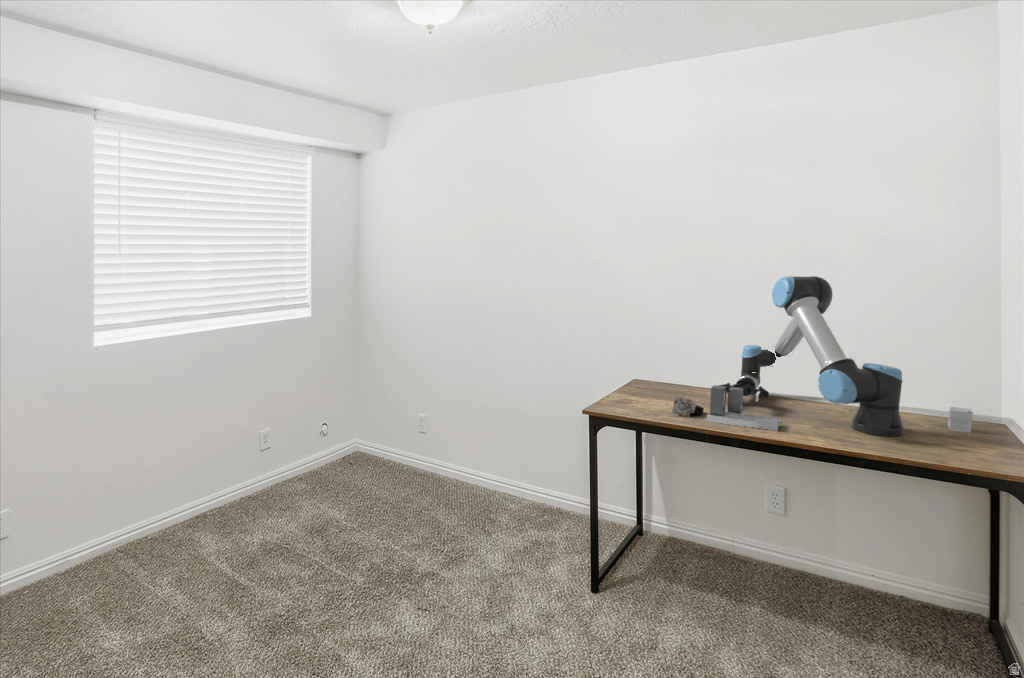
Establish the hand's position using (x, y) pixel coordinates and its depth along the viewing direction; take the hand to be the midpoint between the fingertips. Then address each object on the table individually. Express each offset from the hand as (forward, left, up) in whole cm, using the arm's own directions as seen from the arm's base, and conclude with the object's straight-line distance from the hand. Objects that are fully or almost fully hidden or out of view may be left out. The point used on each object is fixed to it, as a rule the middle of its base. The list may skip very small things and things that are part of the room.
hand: (737, 396), depth 222 cm
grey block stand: (-4, +15, -6) cm, 17 cm away
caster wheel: (+16, +12, -7) cm, 21 cm away
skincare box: (-71, -15, -7) cm, 73 cm away
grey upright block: (0, +8, -6) cm, 10 cm away
